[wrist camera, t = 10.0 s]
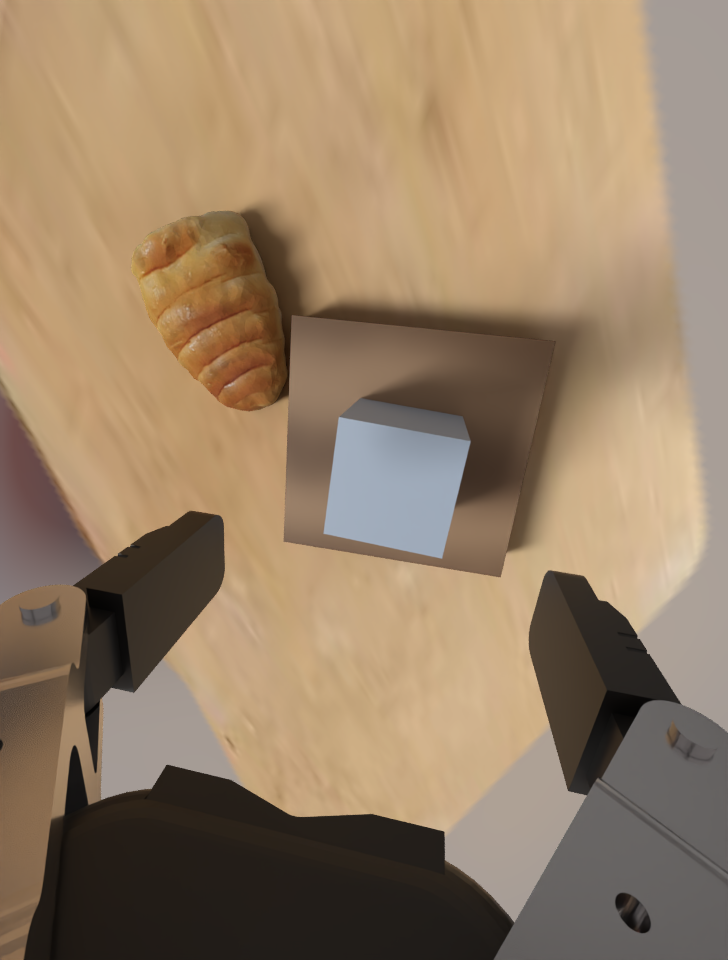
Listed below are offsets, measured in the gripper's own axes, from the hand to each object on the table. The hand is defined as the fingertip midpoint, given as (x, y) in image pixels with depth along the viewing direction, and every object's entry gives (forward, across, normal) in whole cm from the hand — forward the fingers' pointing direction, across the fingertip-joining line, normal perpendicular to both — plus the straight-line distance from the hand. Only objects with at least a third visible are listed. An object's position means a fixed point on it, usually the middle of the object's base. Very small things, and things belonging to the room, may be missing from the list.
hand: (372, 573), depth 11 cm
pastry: (+15, +10, -6) cm, 19 cm away
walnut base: (+15, 0, 0) cm, 15 cm away
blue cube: (+12, 0, 0) cm, 12 cm away
